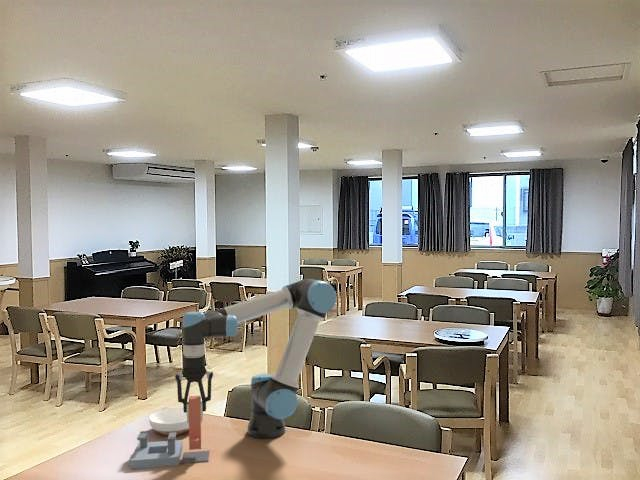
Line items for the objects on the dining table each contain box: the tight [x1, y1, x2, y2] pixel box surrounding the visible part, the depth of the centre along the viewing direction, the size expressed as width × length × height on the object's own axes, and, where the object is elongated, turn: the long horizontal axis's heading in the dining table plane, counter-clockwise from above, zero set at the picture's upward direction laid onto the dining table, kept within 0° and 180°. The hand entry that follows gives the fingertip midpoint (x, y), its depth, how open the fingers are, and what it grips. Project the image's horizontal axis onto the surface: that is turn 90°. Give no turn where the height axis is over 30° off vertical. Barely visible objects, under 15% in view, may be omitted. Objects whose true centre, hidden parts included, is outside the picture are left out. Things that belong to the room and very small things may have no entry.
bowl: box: [148, 407, 189, 436], centre depth 232 cm, size 20×20×6 cm
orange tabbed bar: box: [188, 394, 202, 451], centre depth 204 cm, size 12×4×18 cm, turn 9°
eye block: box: [130, 430, 184, 470], centre depth 204 cm, size 16×16×8 cm
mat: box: [181, 450, 210, 465], centre depth 204 cm, size 9×9×1 cm
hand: (195, 420), depth 204 cm, fingers closed on orange tabbed bar, 4 cm apart
